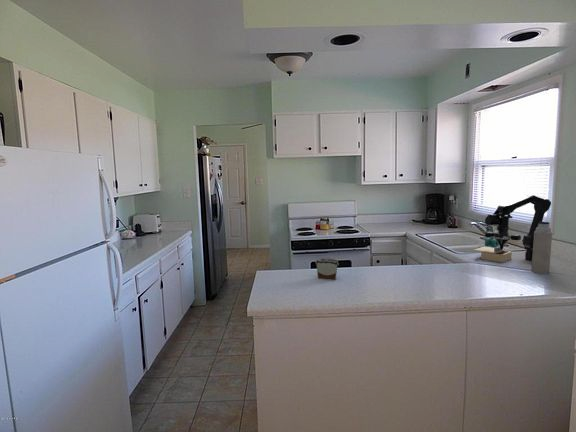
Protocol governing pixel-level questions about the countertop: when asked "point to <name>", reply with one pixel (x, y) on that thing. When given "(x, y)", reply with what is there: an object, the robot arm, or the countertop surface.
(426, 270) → the countertop surface
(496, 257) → the carton
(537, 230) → the thermos bottle
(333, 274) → the food container
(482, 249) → the carton lid
